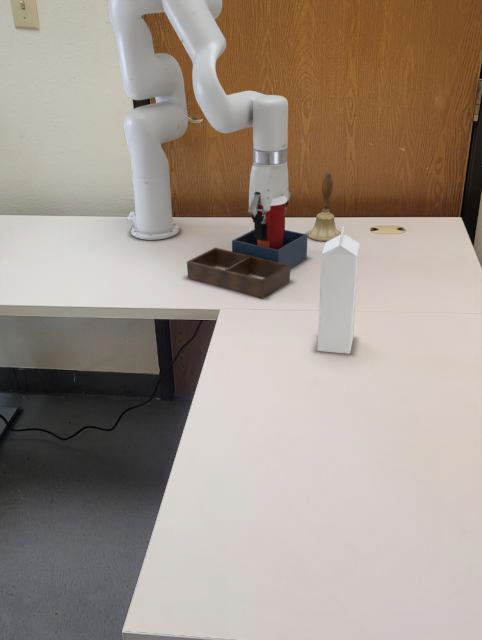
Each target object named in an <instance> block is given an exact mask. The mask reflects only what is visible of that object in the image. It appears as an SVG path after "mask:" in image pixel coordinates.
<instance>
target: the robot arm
mask: <svg viewBox="0 0 482 640" xmlns="http://www.w3.org/2000/svg"><path fill="white" fill-rule="evenodd" d="M106 4H107V13H108V16H109V21H110V24H111V27H112V30H113V34H114V38H115V44H116V51H117V58H118V62H119V71H120V77H121V82H122V86H123V87H122V88H123V90H124V92H125V94H126V96H127V97H128V98H129V99H131V100H134V101H143V100H150V99H154V98H155V102H154V103H149V104H145V105H140V106H137V107H135V108H133V109H131V110H130V111H128V113H127V114H126V115H125V117H124V119H123V123H122V131H123V134H124V138H125V142H126V145H127V149H128V154H129V160H130V161H129V162H130V171H131V178H132V179H131V180H132V189H133V201H134V210H135V211H134V210H132V211H130V212H129V215H127V216H126V220H127V221H129V222H133V226H132V227H131V229H130V232H131V233H130V234H131V235H132V236H133V237H135V238H136V239H140V240H145V241H146V240H147V241H156V240H164V239H169V238H172V237H174V236H176V235H177V234H178V233H179V232H180V227H179V224H177V223H176V222H174V220H173V203H172V189H171V174H170V164H169V159H168V156H167V155H166V153H165V152H164V149H163V147H162V145H163V144H166V143H170V142H172V141H175V140H179V139H180V138H181V137H183V136H184V135H185V133H186V132H187V129H188V126H189V125H188V123H189V115H188V106H187V105H188V104H187V97H186V96H187V95H186V88H185V81H184V75H183V71H182V68H181V66H180V64H179V62H178V61H177V59H176V58H175V57H174V56H172V55H171V54H169V53H165V52H159V53H155V48H154V40H153V36H152V33H151V30H150V28H149V25H148V24H147V22H146V21H145V20H144V18H143V16H144V15H148V14H149V15H150V14H159V13H160V14H161V13H165V16H166V17H167V19H168V21H169V23H170V24H171V26H172V28H173V30H174V31H175V33H176V35H177V37H178V39H179V40H180V42H181V44H182V46H183V48H184V50H185V52H186V53H187V55H188V57H189V58H190V61H191V62H192V73H191V81H192V90H193V94H194V97H195V100H196V103H197V105H198V106H199V108H200V110H201V111H202V114H203V115H204V117H205V118H206V120H207V122H208V124H210V126H211V127H212V128H213V129H214V130H215V131H217V132H218V133H221V134H231V133H234V132H238V131H241V130H245V129H249V128H252V165H251V168H250V174H249V175H250V176H249V186H248V187H249V188H248V189H249V190H248V209H247V213H248V214H249V215H250V218H251V220H252V223H254V226H253V230H254V237H255V239H258V240H263V241H266V240H267V223H266V219H267V211H269V210H270V208H271V206H270V205H271V202H272V199H274V198H276V197H278V196H280V195H281V196H283V194H285V196H286V198H287V202H286V207H285V215H286V214H287V207H288V205H289V201H290V198H291V194H292V193H291V192H290V190H289V185H290V184H289V183H290V181H289V167H288V150H289V149H288V147H289V146H288V143H289V101H288V99H287V98H286V97H285V96H284V95H283V96H282V95H280V94H279V95H278V94H264V93H261V92H258V91H255V90H243V91H240V92H234V93H230V94H227V93H226V92H225V90H224V88H223V87H222V84H221V83H220V80H219V78H218V75H217V69H216V66H217V65H216V64H217V61H218V59H219V58H220V57H221V56H222V55H223V53H224V52H225V50H226V48H227V40H226V37H225V35H224V34H223V32H222V31H221V29H220V26H218V23H217V22H216V19H217V18H218V17H219V16H220V14H221V12H222V9H223V0H107V3H106ZM260 202H261V204H262V206H263V209H259V208H258V206H259V204H260ZM259 212H263V215H262V217H261V215H260V214H259ZM285 230H286V220H285V221H284V231H285Z"/></svg>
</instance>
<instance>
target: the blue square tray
mask: <svg viewBox="0 0 482 640" xmlns="http://www.w3.org/2000/svg"><path fill="white" fill-rule="evenodd" d="M308 237H309V236H308V233H301V232H298V231H297V232H296V231H293V230H289V229H285V231H284V235H283V247H282V248H280V249H278V250H276V249H272V248H267V247H263V246H258V245H257V239H255V237H254V229H252V230H250V231H248V232H246V233H244V234H242V235H240V236H238V237H236V238H234V239H232V240H231V251H232V252H237V253H241V254H245V255H249V256H254V257H258V258H262V259H266V260H271V261H275V262H279V263H284V264H288V265H290V270H291V269H292V268H294V267H296V266H297V265H298V264H300V263H302V262H304V261H305V260H308V259H307V258H308Z"/></svg>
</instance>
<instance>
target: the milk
mask: <svg viewBox="0 0 482 640" xmlns="http://www.w3.org/2000/svg"><path fill="white" fill-rule="evenodd" d="M360 249H361V244H360V243H359V242H358V241H357V240H354V238H352V237H350V236H349V235H347V234H346V233H345V225H343V226H342V229H341V232H340V235H339V236H337V237H335V238H333V239H331V240H329V241H325V243H324V247H323V249H322V251H321V259H320V260H321V262H320V263H321V264H320V280H319V281H320V285H319V304H318V305H319V306H318V329H317V348H316V349H317V350H316V351H318V352H323V353H324V352H325V353H336V354H348V355H350V354H351V350H352V346H353V341H354V333H355V317H356V305H357V304H356V303H357V291H358V290H357V289H358V276H359V263H360Z"/></svg>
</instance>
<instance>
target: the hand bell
mask: <svg viewBox="0 0 482 640" xmlns="http://www.w3.org/2000/svg"><path fill="white" fill-rule="evenodd" d="M333 187H334V183H333V178H332V173H331V172H325V174H324V177H323V179H322V184H321V190H322V197H323V202H322V211H321V212H318V213H317V214H316V218H315V221H314V225H313V228H312V229H310V230H309V232H308V233H307V235H308V236H307V237H308V238H310V239H312V240H313V241H319V242H327V241H329V240H331V239H333V238H335V237H337V236H339V235H341V232H340V231H339V230H338V229H337V226H336V222H335V221H336V220H335V215H334V214H333V213H332V212H330V208H331V207H330V202H331V201H330V200H331V196H332V193H333Z"/></svg>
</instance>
